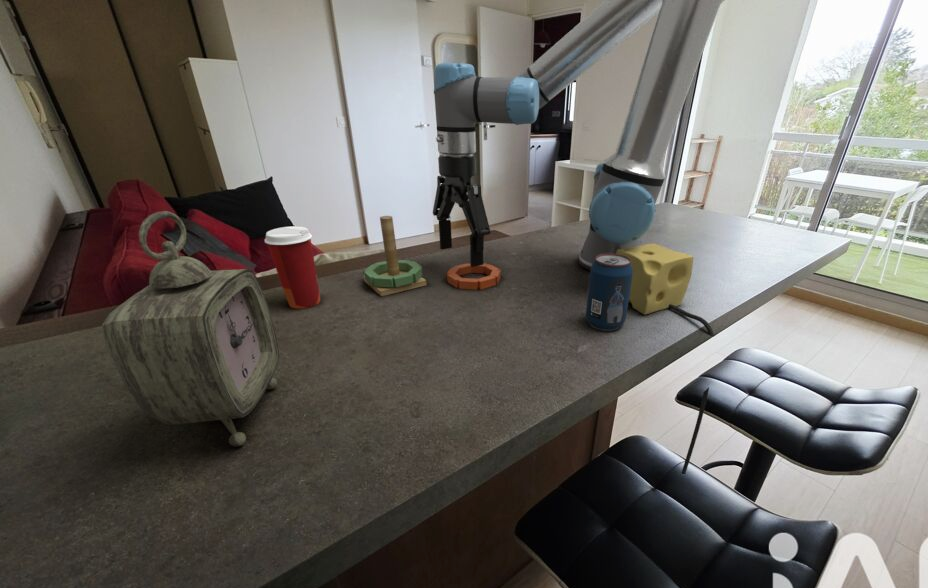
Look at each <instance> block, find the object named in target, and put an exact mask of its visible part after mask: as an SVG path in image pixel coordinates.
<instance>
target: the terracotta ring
mask: <svg viewBox="0 0 928 588" xmlns="http://www.w3.org/2000/svg"><path fill="white" fill-rule="evenodd" d="M472 273H473V274H485V275H487V276H483V277H478V278H473V277H472V278H471V277H461V276H464V275H468V274H472ZM501 273H502V271H501V269H500V268H498V267H496V266H495V265H492V264H489V263H484V262H483V265H480V266H475V267H471V263H469V262H466V263H462V264H457V265H454V266H451V267H450V269H448V271H447V272H446V281H447V284H449V285H451V286H453V287H454V288H455V289H459V290H471V291H472V290H473V291H477V290H479V291H480V290H484V289H485V290H486V289H488V288H492V287H495V286H496V285H498V284H499V282H500V280H501V277H502V275H501Z"/></svg>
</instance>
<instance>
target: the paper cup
mask: <svg viewBox="0 0 928 588" xmlns="http://www.w3.org/2000/svg"><path fill="white" fill-rule="evenodd" d="M312 238H313V235H312V234H311V233H310V230H309V228H307V227H305V226H298V225H297V226H295V225H294V226H282V227H277V228H273V229H270V230H268V231H266V233H265V238H264V243H265V244H267V247H268V250H269V252H270V254H271V258H272V261H273V264H274V267H275V270H276V273H277V276H278V278H279V282H280V284H281V286H282V290H283V292H284V296H285V298H286V301H287V303H288V306H289V307H290V308H292V309H297V310H298V309H308V308H312V307H314V306H317V305H318V304H319V303H320V302H321V295H320V288H319V281H318V275H317V269H316V268H317V267H316V263H315V256H314V250H313V244H312Z"/></svg>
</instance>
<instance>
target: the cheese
mask: <svg viewBox="0 0 928 588" xmlns="http://www.w3.org/2000/svg"><path fill="white" fill-rule="evenodd" d="M616 254H619V255H623V256H626V257H628V258H630V260H631V266H632V269H633V275H632V282H631V288H630V295H629V301H628V304H631V306H632V308H633V309H634V310H636V311H637V312H638V313H640V314H642V315H644V316H645V315H649V314H652V313H655V312H658V311H662V310H666V309H670V308H669V305H670V304H672V305H674V306H676V307H678V306H681V305H682V302H683V300H684V298H685V296H686V293H687V290H688V288H689V284H690V281H691V279H692V273H693V266H694V255H691V254H688V253H684V252H680V251H676V250H673V249H670V248H667V247H665V246H662V245H659V244H657V243H655V242H653V243H646V244H642V245H641V246H637V247H632V248H625V249H618V250H617V252H616Z"/></svg>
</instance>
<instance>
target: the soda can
mask: <svg viewBox="0 0 928 588" xmlns="http://www.w3.org/2000/svg"><path fill="white" fill-rule="evenodd" d="M632 275H633V269H632V266H631V260H630V258H628V257H626V256H623V255H619V254H610V253H607V254H600V255H598V256H596V258H595V261H594V263H593V264H592V266H591V270H590V272H589V280H588V289H587V300H586V310H585V318H586V320H587V322H588V324H589V325H590V327H592V328H593V329H596V330H598V331H603V332H604V331H605V332H611V331H617V330H619V329H620V328H621V327H622V326H623V325H624V323H625V322H626V320H627V313H628V306H629V303H628V301H629V295H630V288H631V282H632Z"/></svg>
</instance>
